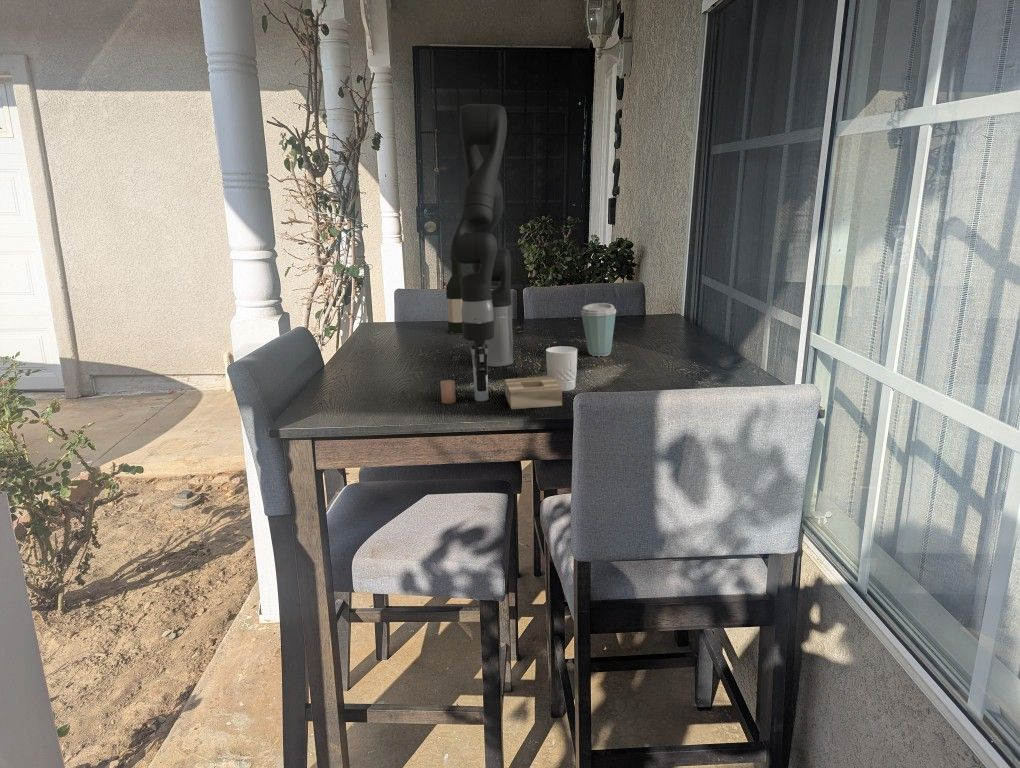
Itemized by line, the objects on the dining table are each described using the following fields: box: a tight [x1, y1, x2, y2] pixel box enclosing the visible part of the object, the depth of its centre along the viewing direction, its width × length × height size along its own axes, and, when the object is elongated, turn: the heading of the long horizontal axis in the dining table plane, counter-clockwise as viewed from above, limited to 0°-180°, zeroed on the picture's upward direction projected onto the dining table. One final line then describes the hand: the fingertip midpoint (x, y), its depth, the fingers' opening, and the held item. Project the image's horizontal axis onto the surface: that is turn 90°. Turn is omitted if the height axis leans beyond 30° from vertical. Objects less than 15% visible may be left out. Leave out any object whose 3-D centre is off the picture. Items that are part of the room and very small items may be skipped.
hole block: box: [504, 376, 563, 410], centre depth 171 cm, size 12×12×4 cm
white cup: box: [545, 345, 578, 392], centre depth 179 cm, size 8×8×10 cm
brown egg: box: [440, 379, 457, 405], centre depth 172 cm, size 3×3×5 cm
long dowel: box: [472, 359, 490, 402], centre depth 172 cm, size 3×3×10 cm
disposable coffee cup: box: [580, 302, 617, 358], centre depth 213 cm, size 11×11×15 cm
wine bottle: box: [445, 251, 464, 333], centre depth 254 cm, size 8×8×30 cm
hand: (481, 388), depth 173 cm, fingers closed on long dowel, 3 cm apart
